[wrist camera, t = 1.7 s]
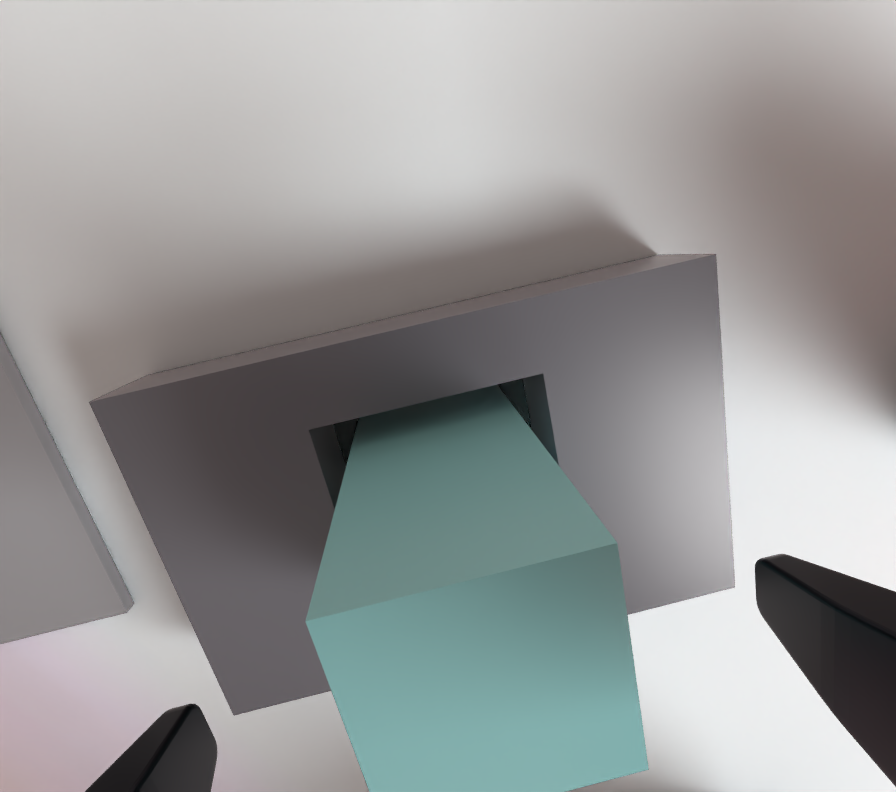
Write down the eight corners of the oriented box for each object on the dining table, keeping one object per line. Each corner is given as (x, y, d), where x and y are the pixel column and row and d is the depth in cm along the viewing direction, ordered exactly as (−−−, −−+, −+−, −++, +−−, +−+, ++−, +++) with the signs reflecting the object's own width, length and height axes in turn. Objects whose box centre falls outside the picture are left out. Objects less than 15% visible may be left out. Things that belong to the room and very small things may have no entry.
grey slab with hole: (683, 536, 16) (734, 587, 13) (259, 644, 15) (233, 715, 13) (658, 254, 13) (716, 254, 11) (147, 374, 13) (89, 402, 10)
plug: (521, 506, 15) (648, 769, 7) (394, 537, 15) (386, 838, 7) (496, 384, 14) (616, 543, 6) (359, 417, 14) (305, 621, 6)
